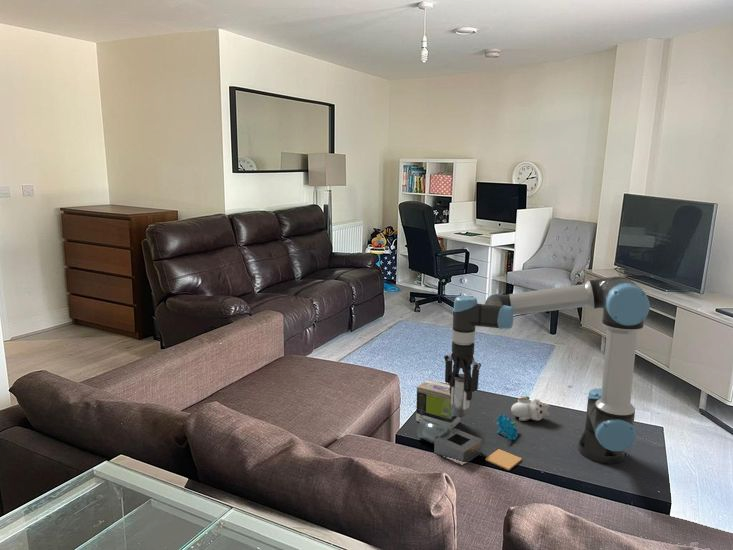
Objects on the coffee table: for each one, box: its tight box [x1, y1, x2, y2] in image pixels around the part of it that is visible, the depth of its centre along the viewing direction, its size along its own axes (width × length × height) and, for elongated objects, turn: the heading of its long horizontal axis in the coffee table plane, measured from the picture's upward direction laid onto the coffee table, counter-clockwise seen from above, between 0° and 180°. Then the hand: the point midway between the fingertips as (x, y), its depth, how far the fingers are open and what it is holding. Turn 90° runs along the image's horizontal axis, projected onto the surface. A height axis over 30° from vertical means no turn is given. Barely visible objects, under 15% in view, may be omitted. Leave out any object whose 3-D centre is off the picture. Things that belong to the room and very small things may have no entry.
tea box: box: [415, 379, 461, 430], centre depth 208 cm, size 15×10×15 cm
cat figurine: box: [510, 396, 551, 422], centre depth 212 cm, size 10×8×15 cm
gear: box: [496, 414, 519, 441], centre depth 199 cm, size 11×6×10 cm
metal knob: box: [453, 373, 467, 418], centre depth 182 cm, size 5×5×14 cm
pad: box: [485, 448, 523, 471], centre depth 182 cm, size 9×9×1 cm
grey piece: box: [416, 419, 484, 463], centre depth 189 cm, size 22×12×7 cm, turn 46°
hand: (460, 405), depth 183 cm, fingers closed on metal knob, 4 cm apart
